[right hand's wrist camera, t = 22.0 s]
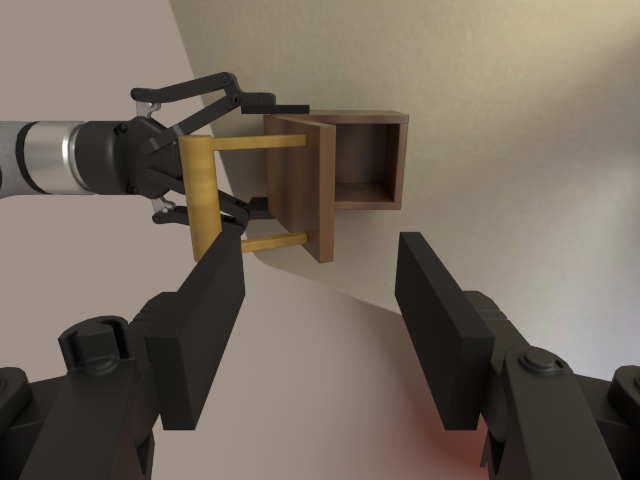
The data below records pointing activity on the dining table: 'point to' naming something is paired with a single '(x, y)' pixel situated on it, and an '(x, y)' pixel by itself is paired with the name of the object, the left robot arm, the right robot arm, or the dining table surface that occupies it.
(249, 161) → the dining table surface
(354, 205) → the chest
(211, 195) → the lid
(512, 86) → the dining table surface
